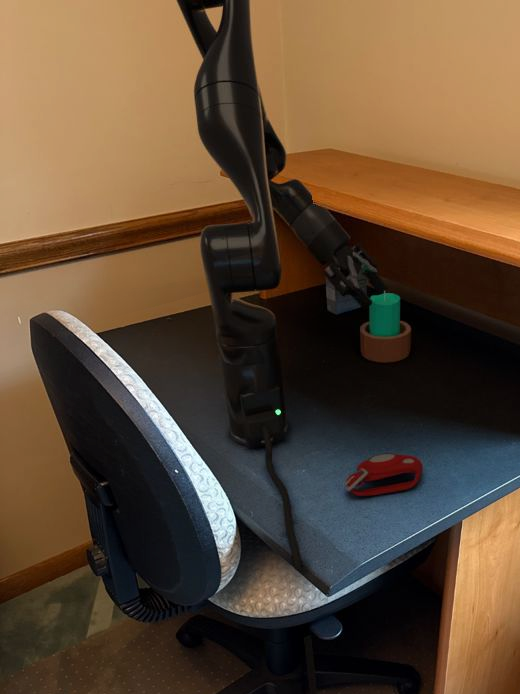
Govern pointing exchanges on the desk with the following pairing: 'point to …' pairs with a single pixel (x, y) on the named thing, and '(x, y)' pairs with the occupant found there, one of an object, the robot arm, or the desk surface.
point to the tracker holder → (384, 473)
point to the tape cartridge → (342, 297)
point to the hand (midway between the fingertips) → (377, 298)
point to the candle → (385, 315)
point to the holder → (385, 344)
